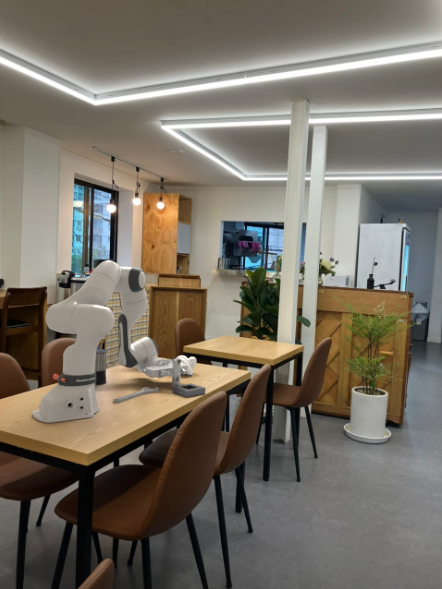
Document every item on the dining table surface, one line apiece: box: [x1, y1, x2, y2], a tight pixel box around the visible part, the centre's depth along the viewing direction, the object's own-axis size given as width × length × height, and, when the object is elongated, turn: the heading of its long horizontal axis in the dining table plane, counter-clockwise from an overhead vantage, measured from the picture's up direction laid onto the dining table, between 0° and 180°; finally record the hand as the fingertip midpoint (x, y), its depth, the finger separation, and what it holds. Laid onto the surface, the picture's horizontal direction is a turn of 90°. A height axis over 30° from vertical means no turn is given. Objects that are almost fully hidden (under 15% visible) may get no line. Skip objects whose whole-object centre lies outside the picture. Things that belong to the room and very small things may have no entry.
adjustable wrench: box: [112, 386, 159, 404], centre depth 191 cm, size 25×6×2 cm, turn 145°
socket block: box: [171, 382, 206, 398], centre depth 197 cm, size 10×10×2 cm
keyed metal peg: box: [171, 357, 181, 389], centre depth 204 cm, size 4×5×13 cm
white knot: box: [175, 355, 197, 376], centre depth 233 cm, size 11×12×9 cm
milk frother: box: [95, 348, 108, 386], centre depth 211 cm, size 14×16×15 cm
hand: (177, 373), depth 203 cm, fingers open, 7 cm apart
